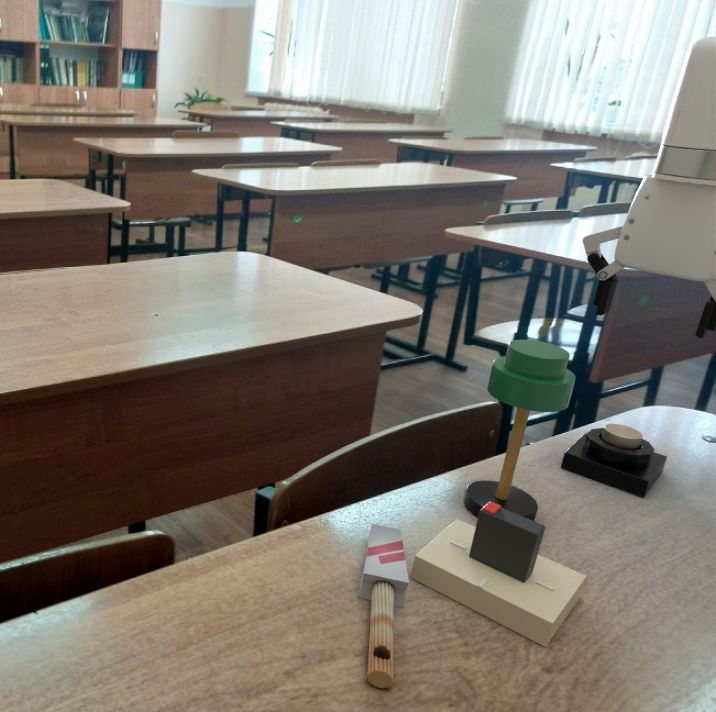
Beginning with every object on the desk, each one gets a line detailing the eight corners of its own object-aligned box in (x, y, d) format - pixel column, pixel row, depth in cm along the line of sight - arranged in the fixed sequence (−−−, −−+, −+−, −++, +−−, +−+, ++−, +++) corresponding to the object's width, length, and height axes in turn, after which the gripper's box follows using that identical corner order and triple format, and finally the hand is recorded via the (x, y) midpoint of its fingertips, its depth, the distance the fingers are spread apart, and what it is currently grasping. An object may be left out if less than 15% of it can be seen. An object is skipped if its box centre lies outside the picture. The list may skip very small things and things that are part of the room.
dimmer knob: (532, 573, 65) (546, 523, 63) (524, 583, 64) (538, 532, 62) (477, 547, 68) (489, 499, 66) (468, 556, 67) (480, 507, 65)
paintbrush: (409, 518, 71) (408, 672, 54) (404, 541, 72) (401, 700, 55) (368, 510, 72) (354, 659, 55) (364, 532, 73) (349, 686, 56)
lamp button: (642, 444, 88) (646, 431, 88) (633, 455, 85) (637, 442, 85) (605, 433, 91) (609, 420, 90) (596, 442, 88) (600, 429, 87)
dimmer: (580, 598, 66) (587, 573, 65) (545, 648, 60) (552, 622, 59) (452, 539, 74) (457, 516, 73) (409, 578, 68) (414, 554, 67)
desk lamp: (547, 511, 80) (591, 351, 73) (521, 538, 75) (566, 369, 68) (478, 483, 85) (514, 331, 78) (449, 507, 80) (485, 346, 73)
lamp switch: (662, 472, 90) (671, 443, 88) (643, 498, 83) (653, 467, 82) (583, 445, 95) (590, 417, 94) (560, 467, 89) (568, 438, 88)
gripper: (807, 175, 73) (748, 337, 79) (614, 156, 83) (575, 299, 90) (801, 180, 67) (739, 353, 74) (596, 159, 78) (557, 311, 84)
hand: (649, 323), depth 82 cm, fingers open, 9 cm apart
